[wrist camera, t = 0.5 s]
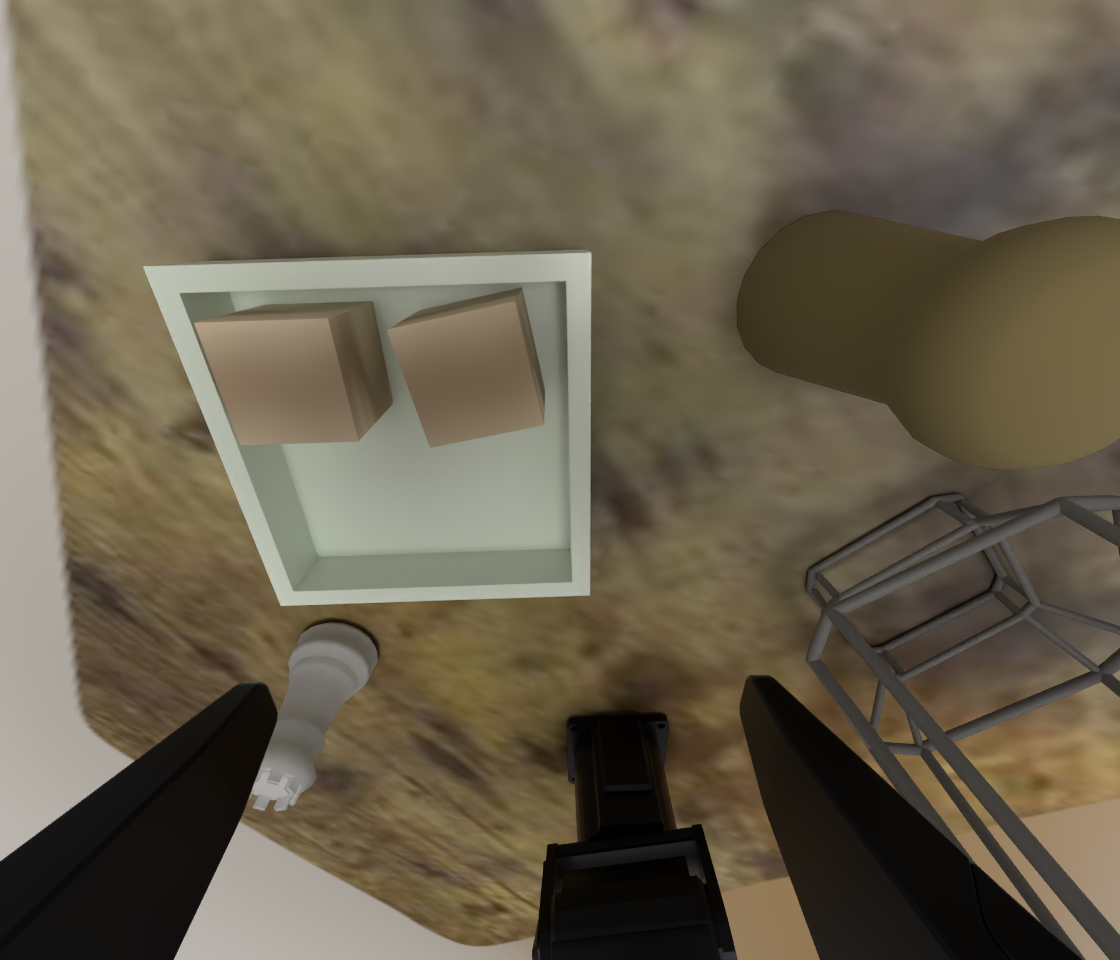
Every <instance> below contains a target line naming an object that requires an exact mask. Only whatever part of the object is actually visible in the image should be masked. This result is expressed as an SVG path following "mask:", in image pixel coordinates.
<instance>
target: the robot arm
mask: <svg viewBox="0 0 1120 960" xmlns="http://www.w3.org/2000/svg"><path fill="white" fill-rule="evenodd" d="M740 716H741V720H742V724H743V728H744V732H745V736H746V740H747V744H748V747H749V751H750V755H751V759H752V763H753V767H754V770H755V774H756V778H757V782H758V786H759V790H760V793H761V797H762V800H763V804H764V807H765V810H766V813H767V816H768V819H769V822H770V824H771V827H772V830H773V833H774V835H775V838H776V841H777V843H778V846H779V849H780V852H781V854H782V857H783V860H784V863H785V865H786V868H787V871H788V874H789V876H790V879H791V882H792V884H793V887H794V890H795V893H796V895H797V898H798V901H799V904H800V906H801V909H802V912H803V915H804V917H805V920H806V923H807V925H808V928H809V931H810V934H811V936H812V939H813V942H814V945H815V947H816V950H817V953H818V955H819V958H820V960H1084V959H1082V958H1081V957H1080V956H1079V955H1078V954H1076V953H1075V952H1074V951H1073V950H1072V949H1071V948H1069V947H1068V946H1067V945H1066V944H1065V943H1063V942H1062V941H1061V940H1060V939H1059V938H1058V937H1056V936H1055V935H1054V934H1053V933H1052V932H1051V931H1049V930H1048V929H1047V928H1046V927H1045V926H1044V925H1043V924H1042V923H1040V922H1039V921H1038V920H1037V919H1036V918H1035V917H1034V916H1032V915H1031V914H1030V913H1029V912H1028V911H1027V910H1026V909H1025V908H1024V907H1023V906H1021V905H1020V904H1019V903H1018V902H1017V901H1016V900H1015V899H1014V898H1012V897H1011V896H1010V895H1009V894H1008V893H1007V892H1006V891H1005V890H1004V889H1002V888H1001V887H1000V886H999V885H998V884H997V883H996V882H995V881H994V880H993V879H992V878H990V877H989V876H988V875H987V874H986V873H985V872H984V871H983V870H982V869H981V868H980V867H978V866H977V865H976V864H975V863H971V862H970V859H969V858H968V857H967V856H966V855H965V854H964V853H963V852H962V851H961V850H960V849H959V848H958V847H957V846H956V845H954V844H953V843H952V842H951V841H950V840H949V839H948V838H947V837H946V836H945V835H944V834H943V833H941V832H940V831H939V830H938V829H937V828H936V827H935V826H934V825H933V824H932V823H931V822H929V821H928V820H927V819H926V818H925V817H924V816H923V815H922V814H921V813H920V812H919V811H918V810H916V809H915V808H914V807H913V806H912V805H911V804H910V803H909V802H908V801H907V800H906V799H905V798H903V797H902V796H901V795H900V794H899V793H898V792H897V791H896V790H895V789H894V788H893V787H892V786H890V785H889V784H888V783H887V782H886V781H885V780H884V779H883V778H882V777H881V776H880V775H878V774H877V773H876V772H875V771H874V770H873V769H872V768H871V767H870V766H869V765H868V764H867V763H865V762H864V761H863V760H862V759H861V758H860V757H859V756H858V755H857V754H856V753H855V752H854V751H852V750H851V749H850V748H849V747H848V746H847V745H846V744H845V743H844V742H843V741H842V740H840V739H839V738H838V737H837V736H836V735H835V734H834V733H833V732H832V731H831V730H830V729H829V728H827V727H826V726H825V725H824V724H823V723H822V722H821V721H820V720H819V719H818V718H817V717H816V716H814V715H813V714H812V713H811V712H810V711H809V710H808V709H807V708H806V707H805V706H804V705H803V704H801V703H800V702H799V701H798V700H797V699H796V698H795V697H794V696H793V695H792V694H791V693H789V692H788V691H787V690H786V689H785V688H784V687H783V686H782V685H781V684H780V683H779V682H778V681H776V680H775V679H774V678H773V677H771V676H769V675H750V676H748V677H747V679H746V682H745V686H744V690H743V694H742V698H741V702H740ZM277 718H278V713H277V708H276V706H275V703H274V701H273V698H272V696H271V693H270V691H269V689H268V686H267V685H266V684H265V683H264V682H242V683H240V684H238V685H236V686H234V687H233V688H232V689H230V690H229V691H228V692H226V693H225V694H224V695H222V696H221V697H220V698H218V699H217V700H216V701H214V702H213V703H212V704H210V705H209V706H208V707H206V708H205V709H204V710H202V711H201V712H200V713H198V714H197V715H196V716H194V717H193V718H192V719H190V720H189V721H188V722H186V723H185V724H184V725H182V726H181V727H180V728H178V729H177V730H175V731H174V732H173V733H171V734H170V735H169V736H167V737H166V738H165V739H163V740H162V741H161V742H159V743H158V744H157V745H155V746H154V747H153V748H151V749H150V750H149V751H147V752H146V753H145V754H143V755H142V756H141V757H139V758H138V759H137V760H135V761H134V762H133V763H131V764H130V765H129V766H127V767H126V768H125V769H123V770H122V771H121V772H119V773H118V774H117V775H116V776H114V777H113V778H111V779H110V780H109V781H107V782H106V783H105V784H103V785H102V786H101V787H99V788H98V789H97V790H95V791H94V792H93V793H91V794H90V795H89V796H87V797H86V798H84V799H83V800H82V801H81V802H79V803H78V804H77V805H75V806H74V807H72V808H71V809H70V810H69V811H67V812H66V813H65V814H63V815H62V816H60V817H59V818H58V819H56V820H55V821H54V822H52V823H51V824H50V825H48V826H47V827H46V828H44V829H43V830H42V831H40V832H39V833H38V834H36V835H35V836H34V837H32V838H31V839H30V840H28V841H27V842H26V843H24V844H23V845H22V846H20V847H19V848H18V849H16V850H15V851H14V852H12V853H11V854H9V855H8V856H7V857H5V858H4V859H3V860H2V861H0V960H174V958H175V956H176V954H177V952H178V949H179V947H180V945H181V943H182V941H183V939H184V937H185V935H186V933H187V930H188V928H189V926H190V924H191V922H192V920H193V918H194V916H195V914H196V912H197V909H198V907H199V905H200V903H201V901H202V899H203V897H204V895H205V893H206V891H207V888H208V886H209V884H210V882H211V880H212V878H213V876H214V873H215V872H216V870H217V867H218V865H219V863H220V861H221V859H222V857H223V855H224V853H225V850H226V849H227V846H228V844H229V842H230V840H231V838H232V836H233V834H234V832H235V829H236V827H237V825H238V823H239V821H240V819H241V816H242V814H243V812H244V809H245V807H246V804H247V802H248V799H249V797H250V794H251V791H252V789H253V786H254V783H255V780H256V778H257V775H258V772H259V770H260V767H261V764H262V762H263V759H264V756H265V753H266V751H267V748H268V745H269V743H270V740H271V737H272V734H273V732H274V729H275V726H276V723H277ZM566 724H567V755H568V780H569V782H570V783H573V784H575V799H576V821H577V842H576V843H569V844H562V845H558V844H557V843H554V844H548V845H547V856H546V861H544V862H543V877H542V888H541V898H540V909H539V919H538V924H537V929H536V934H535V939H534V944H533V949H532V960H737V956H736V951H735V947H734V943H733V938H732V934H731V930H730V926H729V922H728V918H727V915H726V911H725V907H724V903H723V900H722V896H721V892H720V889H719V885H718V882H717V878H716V874H715V871H714V867H713V864H712V860H711V857H710V853H709V849H708V846H707V842H706V839H705V835H704V832H703V828H702V825H701V824H696V825H692V827H689V828H681V829H677V828H676V823H675V818H674V814H673V809H672V804H671V800H670V795H669V790H668V785H667V781H666V776H665V771H664V761H665V754H666V746H667V738H668V731H669V723H668V719H667V717H666V716H663V715H652V716H623V717H595V718H572V719H569V720H568V721H567V723H566Z"/></svg>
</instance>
